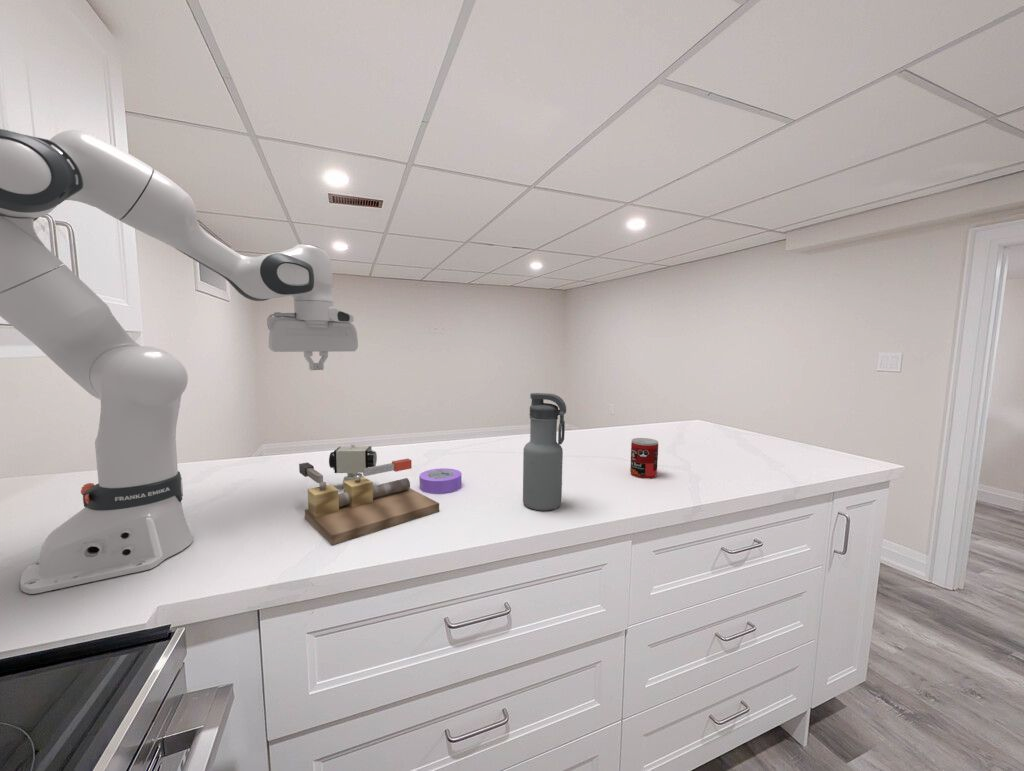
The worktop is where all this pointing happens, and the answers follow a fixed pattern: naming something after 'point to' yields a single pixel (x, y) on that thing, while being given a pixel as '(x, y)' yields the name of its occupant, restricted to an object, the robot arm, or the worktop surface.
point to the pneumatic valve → (352, 460)
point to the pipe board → (361, 506)
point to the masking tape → (440, 481)
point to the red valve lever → (386, 468)
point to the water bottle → (544, 454)
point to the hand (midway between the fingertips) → (316, 370)
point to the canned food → (644, 457)
